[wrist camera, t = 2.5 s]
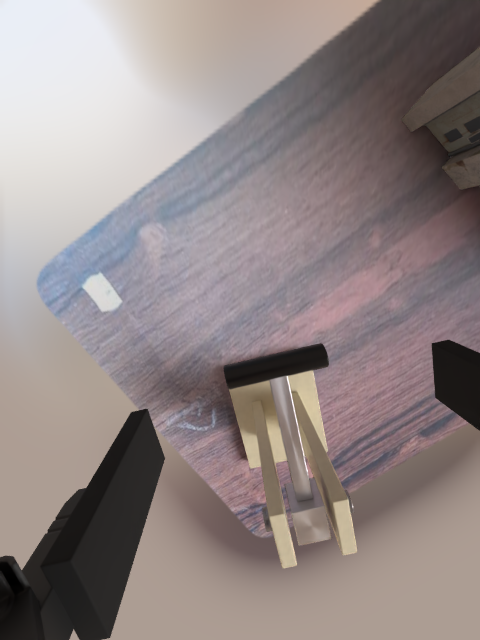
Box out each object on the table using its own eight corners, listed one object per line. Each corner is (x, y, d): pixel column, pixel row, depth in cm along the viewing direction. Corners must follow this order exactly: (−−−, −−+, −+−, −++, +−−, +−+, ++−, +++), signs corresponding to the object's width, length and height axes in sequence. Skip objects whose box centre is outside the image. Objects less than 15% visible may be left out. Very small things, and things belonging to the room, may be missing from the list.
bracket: (224, 369, 31) (221, 473, 17) (307, 350, 31) (373, 439, 17) (249, 461, 34) (264, 616, 20) (324, 444, 34) (394, 588, 20)
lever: (223, 359, 18) (223, 375, 16) (316, 337, 18) (329, 350, 16) (266, 519, 22) (271, 552, 19) (345, 502, 22) (359, 533, 19)
